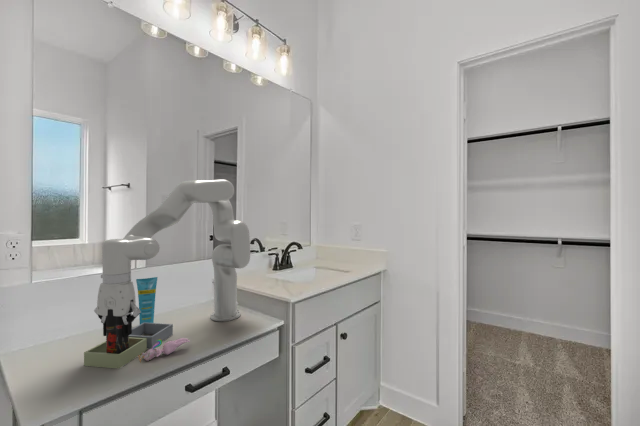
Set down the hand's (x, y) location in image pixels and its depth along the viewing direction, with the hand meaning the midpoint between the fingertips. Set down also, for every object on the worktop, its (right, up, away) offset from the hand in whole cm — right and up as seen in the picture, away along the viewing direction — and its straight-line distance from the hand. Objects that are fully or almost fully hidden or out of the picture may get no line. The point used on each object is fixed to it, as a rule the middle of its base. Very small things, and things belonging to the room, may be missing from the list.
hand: (117, 334), depth 97 cm
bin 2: (+2, -7, +13) cm, 15 cm away
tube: (-6, -7, +27) cm, 28 cm away
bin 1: (0, -7, 0) cm, 7 cm away
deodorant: (0, -6, 0) cm, 6 cm away
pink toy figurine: (+14, -8, +2) cm, 16 cm away
